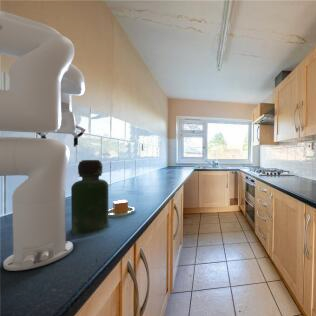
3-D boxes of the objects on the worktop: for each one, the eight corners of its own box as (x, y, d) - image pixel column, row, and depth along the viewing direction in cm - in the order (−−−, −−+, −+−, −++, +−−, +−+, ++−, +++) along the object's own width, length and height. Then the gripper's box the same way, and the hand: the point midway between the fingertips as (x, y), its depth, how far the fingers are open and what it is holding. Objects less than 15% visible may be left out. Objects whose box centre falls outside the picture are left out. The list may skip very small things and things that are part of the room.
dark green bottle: (70, 237, 59) (70, 161, 59) (72, 227, 68) (72, 159, 67) (109, 229, 66) (109, 160, 65) (107, 221, 74) (107, 159, 73)
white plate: (136, 214, 83) (136, 211, 83) (107, 219, 75) (107, 216, 75) (131, 208, 91) (131, 205, 91) (104, 212, 84) (104, 209, 83)
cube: (127, 212, 83) (127, 201, 83) (114, 215, 80) (114, 203, 79) (125, 210, 87) (125, 199, 86) (112, 212, 83) (112, 201, 83)
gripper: (29, 102, 73) (29, 145, 73) (85, 109, 84) (86, 147, 85) (32, 105, 78) (32, 145, 79) (85, 112, 90) (85, 147, 90)
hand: (60, 146), depth 82 cm, fingers open, 9 cm apart
